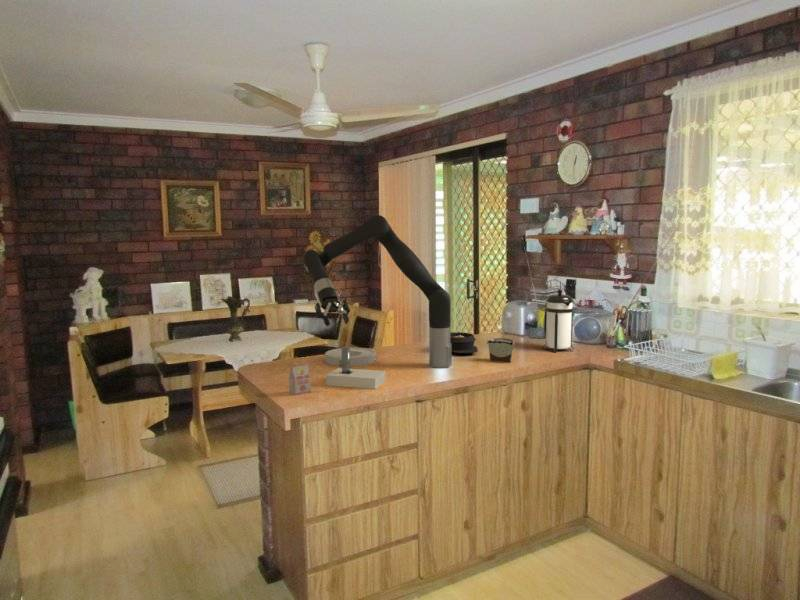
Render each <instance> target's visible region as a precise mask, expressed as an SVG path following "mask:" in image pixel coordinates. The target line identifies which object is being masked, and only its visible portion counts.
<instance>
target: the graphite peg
mask: <svg viewBox="0 0 800 600" xmlns="http://www.w3.org/2000/svg"><path fill="white" fill-rule="evenodd" d="M340 348H342V365H341V368H342V374H350V369H351V366H350V348H351V347H350V346H348V345H347V346H341V347H340Z"/></svg>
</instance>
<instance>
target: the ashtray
mask: <svg viewBox="0 0 800 600" xmlns="http://www.w3.org/2000/svg"><path fill="white" fill-rule="evenodd" d="M324 354H325V355H324V356H325V357H324V359H325V363H326V364H328V365H331V366H336V367H337V366H340V367H341V366H342V348H341V347H340V348H334V349H329V350H327V351H325V353H324ZM376 358H377V353H376V351H375V350H374V349H372V348H371V349H370V348H368V347H367V348H366V347H350V367H359V366H366V365H370V364H374V362H375V361H376V360H377V359H376Z"/></svg>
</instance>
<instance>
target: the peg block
mask: <svg viewBox="0 0 800 600" xmlns="http://www.w3.org/2000/svg"><path fill="white" fill-rule="evenodd" d="M385 382H386V371H385V370H373V369H359V368H350V374H342V367H337V368H336V369H334V370H332V371H330V372H329V373H327V374H326V375H325V385H326V386H328V387H329V386H331V387H342V388H343V387H345V388H358V389H359V388H360V389H369V390H371V389H372V390H376V389H377V388H378V387H380V386H381V385H382V384H383V383H385Z"/></svg>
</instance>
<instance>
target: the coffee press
mask: <svg viewBox="0 0 800 600" xmlns="http://www.w3.org/2000/svg"><path fill="white" fill-rule="evenodd" d="M545 301H546V307H545V309H544V323H543V324H544V327H543V328H544V334H545V344H544V345H543V347H542V348H543V349H544V348H545V349H547V348H550V349H553V353H556V352H557V353H558V350H569V351H571V352H574V351H575V348H574V347H573V316H574V315H573V313H574V312H573V311H574V310H573V309H574V307H573V303H574V300H573V297H571V296H570V295H568V294H563V290H561V289H558V290H557V294H550V295H548V296H547V298H546V299H545ZM545 349H544V350H545Z"/></svg>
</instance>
